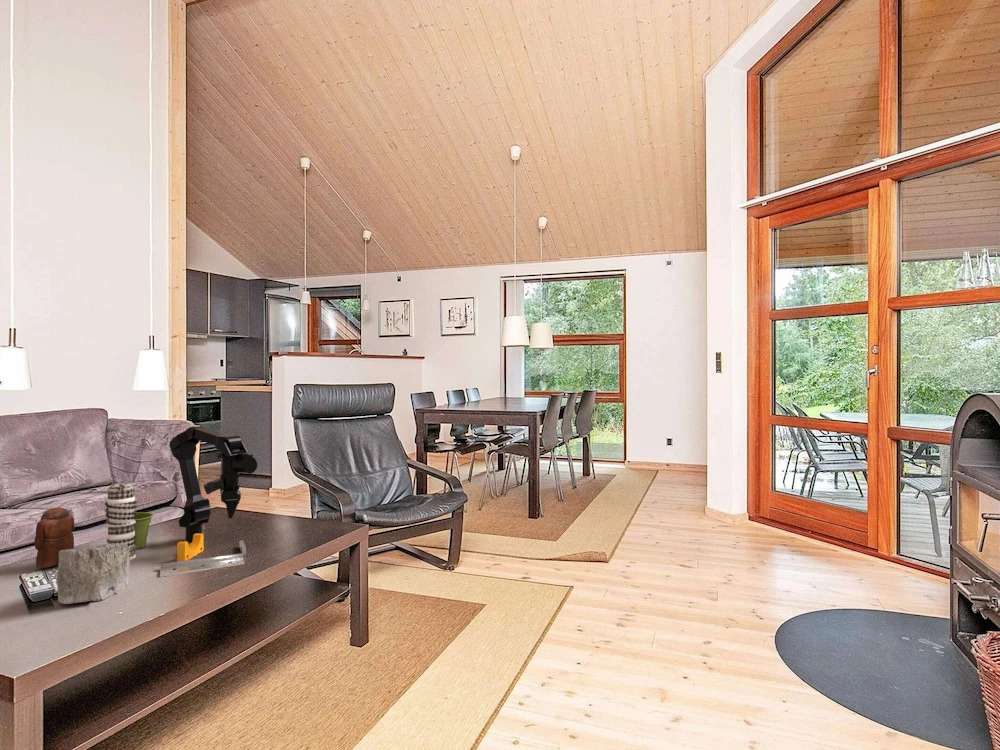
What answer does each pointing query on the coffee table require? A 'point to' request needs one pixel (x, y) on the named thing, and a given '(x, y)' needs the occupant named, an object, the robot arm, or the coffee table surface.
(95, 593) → the petrified wood
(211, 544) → the coffee table surface
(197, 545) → the pipe clamp
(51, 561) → the wooden figurine
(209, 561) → the hinge bed
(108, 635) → the coffee table surface
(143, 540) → the plant pot
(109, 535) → the decorative candle
